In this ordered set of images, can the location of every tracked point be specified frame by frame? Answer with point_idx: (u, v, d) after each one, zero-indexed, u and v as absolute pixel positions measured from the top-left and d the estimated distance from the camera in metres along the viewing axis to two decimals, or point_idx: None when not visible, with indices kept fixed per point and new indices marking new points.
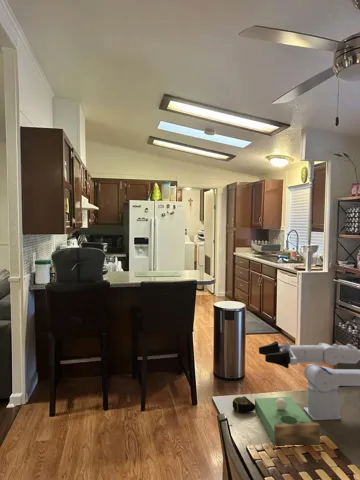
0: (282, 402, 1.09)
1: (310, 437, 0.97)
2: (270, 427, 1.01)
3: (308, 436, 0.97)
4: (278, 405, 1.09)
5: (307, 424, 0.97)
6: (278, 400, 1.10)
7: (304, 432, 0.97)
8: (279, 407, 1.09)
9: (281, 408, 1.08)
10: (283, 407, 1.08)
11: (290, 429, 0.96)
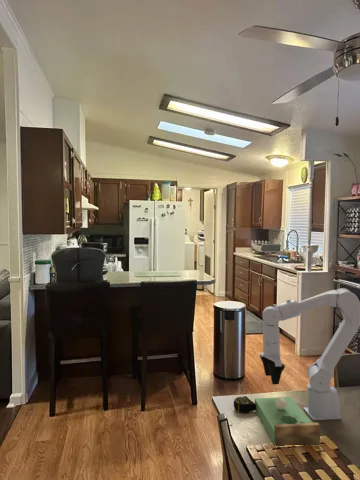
0: (282, 402, 1.09)
1: (310, 437, 0.97)
2: (270, 427, 1.01)
3: (308, 436, 0.97)
4: (278, 405, 1.09)
5: (307, 424, 0.97)
6: (278, 400, 1.10)
7: (304, 432, 0.97)
8: (279, 407, 1.09)
9: (281, 408, 1.08)
10: (283, 407, 1.08)
11: (290, 429, 0.96)
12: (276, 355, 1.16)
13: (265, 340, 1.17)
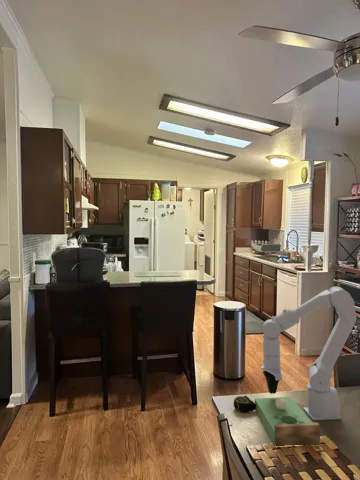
0: (282, 402, 1.09)
1: (310, 437, 0.97)
2: (270, 427, 1.01)
3: (308, 436, 0.97)
4: (278, 405, 1.09)
5: (307, 424, 0.97)
6: (278, 400, 1.10)
7: (304, 432, 0.97)
8: (279, 407, 1.09)
9: (281, 408, 1.08)
10: (283, 407, 1.08)
11: (290, 429, 0.96)
12: (276, 368, 1.16)
13: (265, 353, 1.17)
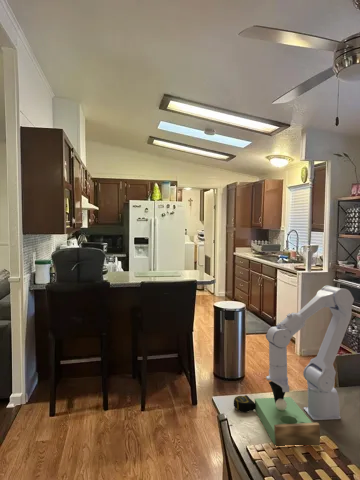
0: (283, 403, 1.08)
1: (310, 437, 0.97)
2: (270, 427, 1.01)
3: (308, 436, 0.97)
4: (278, 406, 1.08)
5: (307, 424, 0.97)
6: (278, 401, 1.09)
7: (304, 432, 0.97)
8: (279, 408, 1.08)
9: (281, 409, 1.08)
10: (283, 408, 1.08)
11: (290, 429, 0.96)
12: (283, 379, 1.09)
13: (275, 364, 1.10)
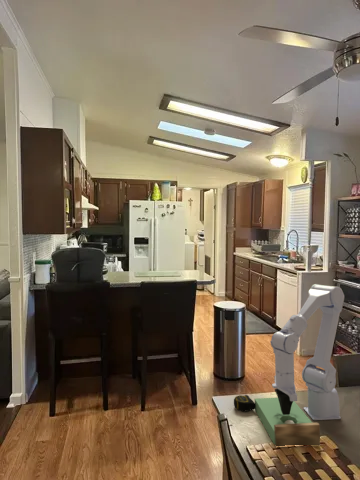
0: None
1: (310, 437, 0.97)
2: (270, 427, 1.01)
3: (308, 436, 0.97)
4: None
5: (307, 424, 0.97)
6: None
7: (304, 432, 0.97)
8: None
9: None
10: None
11: (290, 429, 0.96)
12: (290, 387, 1.03)
13: (285, 371, 1.03)
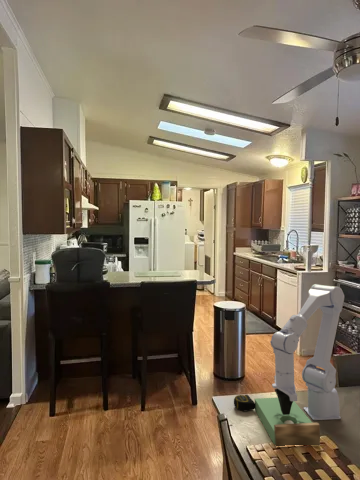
0: None
1: (310, 437, 0.97)
2: (270, 427, 1.01)
3: (308, 436, 0.97)
4: None
5: (307, 424, 0.97)
6: None
7: (304, 432, 0.97)
8: None
9: None
10: None
11: (290, 429, 0.96)
12: (290, 387, 1.03)
13: (285, 371, 1.03)
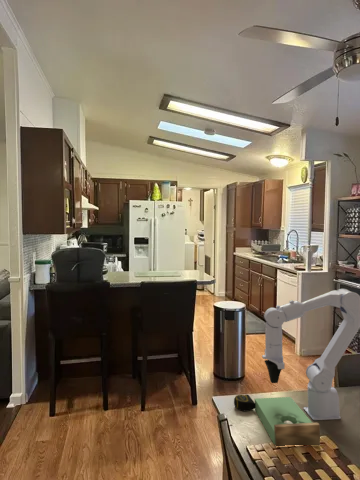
0: None
1: (310, 437, 0.97)
2: (270, 427, 1.01)
3: (308, 436, 0.97)
4: None
5: (307, 424, 0.97)
6: None
7: (304, 432, 0.97)
8: None
9: None
10: None
11: (290, 429, 0.96)
12: (279, 357, 1.14)
13: (268, 342, 1.15)
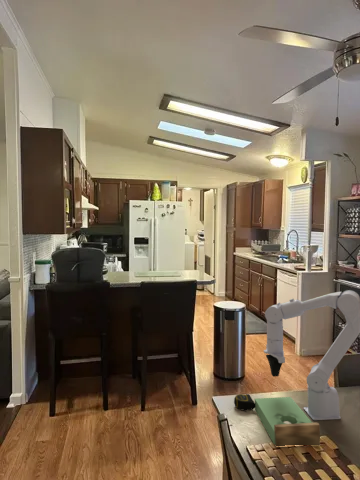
0: None
1: (310, 437, 0.97)
2: (270, 427, 1.01)
3: (308, 436, 0.97)
4: None
5: (307, 424, 0.97)
6: None
7: (304, 432, 0.97)
8: None
9: (284, 421, 1.04)
10: (286, 421, 1.04)
11: (290, 429, 0.96)
12: (279, 352, 1.19)
13: (268, 337, 1.21)
